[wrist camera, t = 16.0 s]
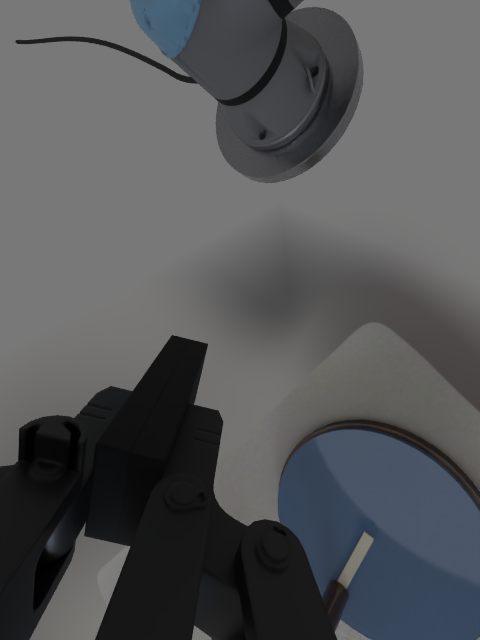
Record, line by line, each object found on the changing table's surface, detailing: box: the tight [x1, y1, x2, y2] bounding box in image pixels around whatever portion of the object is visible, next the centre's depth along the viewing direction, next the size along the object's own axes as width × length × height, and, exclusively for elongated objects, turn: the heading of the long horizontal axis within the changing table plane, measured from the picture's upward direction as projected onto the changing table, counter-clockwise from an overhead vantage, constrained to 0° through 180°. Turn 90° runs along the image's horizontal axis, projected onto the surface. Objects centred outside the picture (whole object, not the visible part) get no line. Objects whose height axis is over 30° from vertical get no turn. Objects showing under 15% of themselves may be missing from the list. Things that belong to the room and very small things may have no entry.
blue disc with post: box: [278, 427, 480, 640], centre depth 31 cm, size 24×24×17 cm
